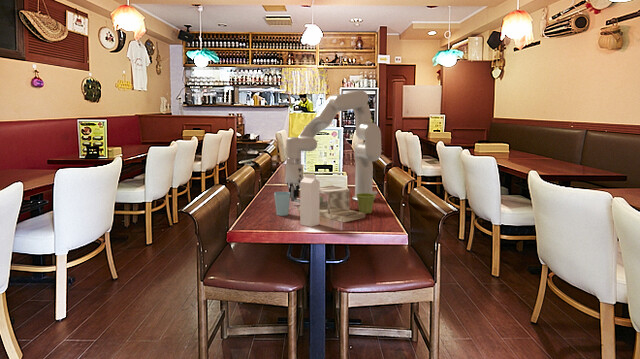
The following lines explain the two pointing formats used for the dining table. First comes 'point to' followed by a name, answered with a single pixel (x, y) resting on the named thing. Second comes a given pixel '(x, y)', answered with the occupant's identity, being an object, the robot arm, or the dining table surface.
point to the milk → (309, 200)
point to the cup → (282, 203)
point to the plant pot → (365, 202)
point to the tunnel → (338, 205)
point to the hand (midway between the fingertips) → (293, 196)
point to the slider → (294, 199)
